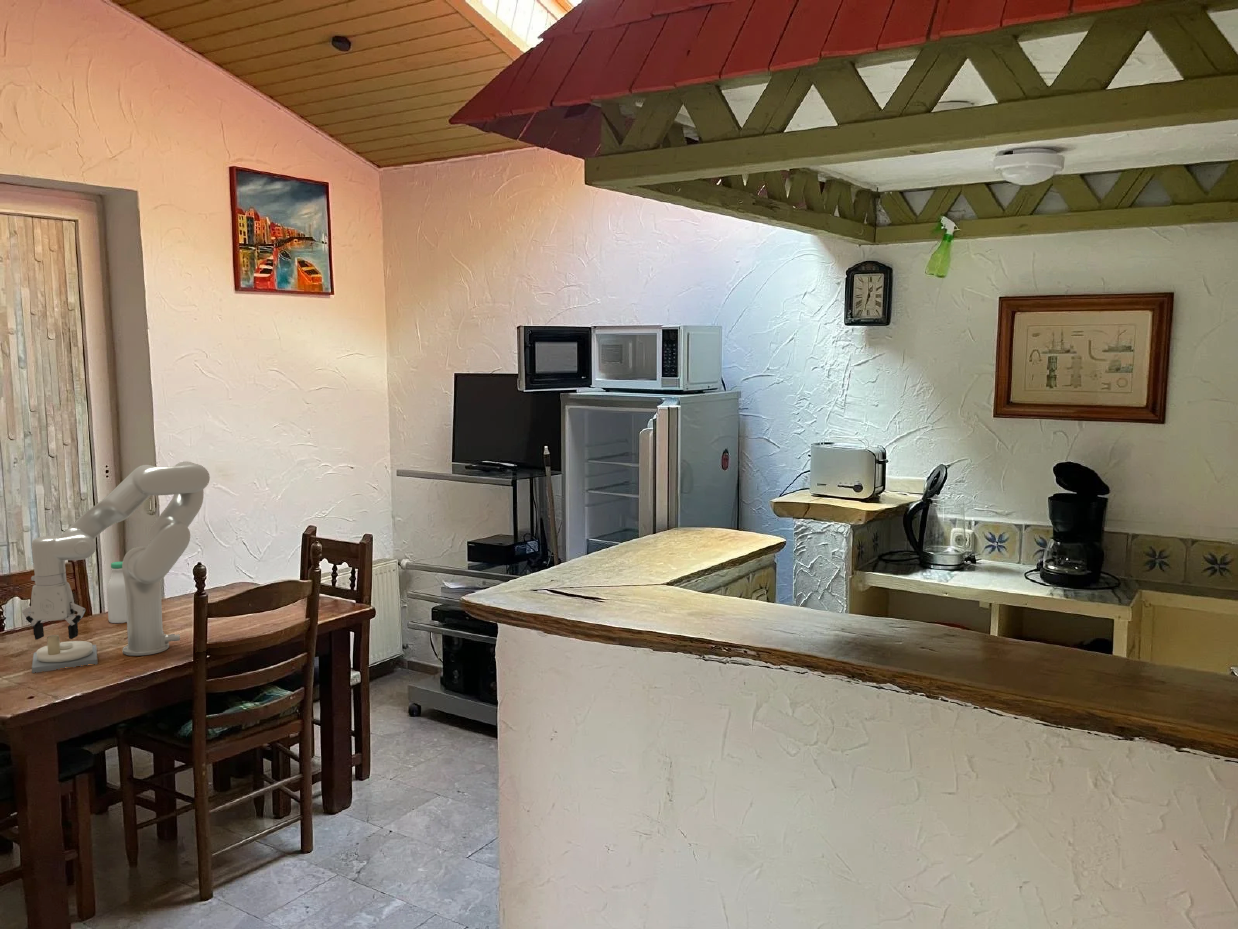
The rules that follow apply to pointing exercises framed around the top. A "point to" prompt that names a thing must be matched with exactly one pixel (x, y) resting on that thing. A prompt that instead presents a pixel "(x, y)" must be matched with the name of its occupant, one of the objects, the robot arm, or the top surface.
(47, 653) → the dial
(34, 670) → the base board
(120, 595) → the milk bottle
